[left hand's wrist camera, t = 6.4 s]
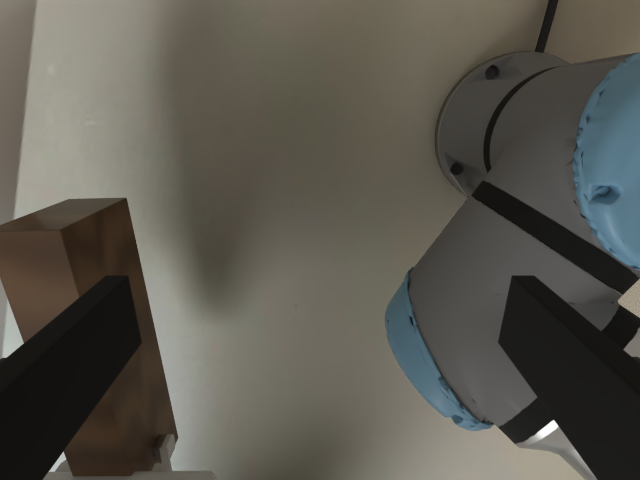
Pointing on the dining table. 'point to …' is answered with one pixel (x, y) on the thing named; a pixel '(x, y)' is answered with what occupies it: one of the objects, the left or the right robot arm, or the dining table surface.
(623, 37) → the dining table surface
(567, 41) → the dining table surface
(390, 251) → the dining table surface
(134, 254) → the bar
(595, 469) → the left robot arm
